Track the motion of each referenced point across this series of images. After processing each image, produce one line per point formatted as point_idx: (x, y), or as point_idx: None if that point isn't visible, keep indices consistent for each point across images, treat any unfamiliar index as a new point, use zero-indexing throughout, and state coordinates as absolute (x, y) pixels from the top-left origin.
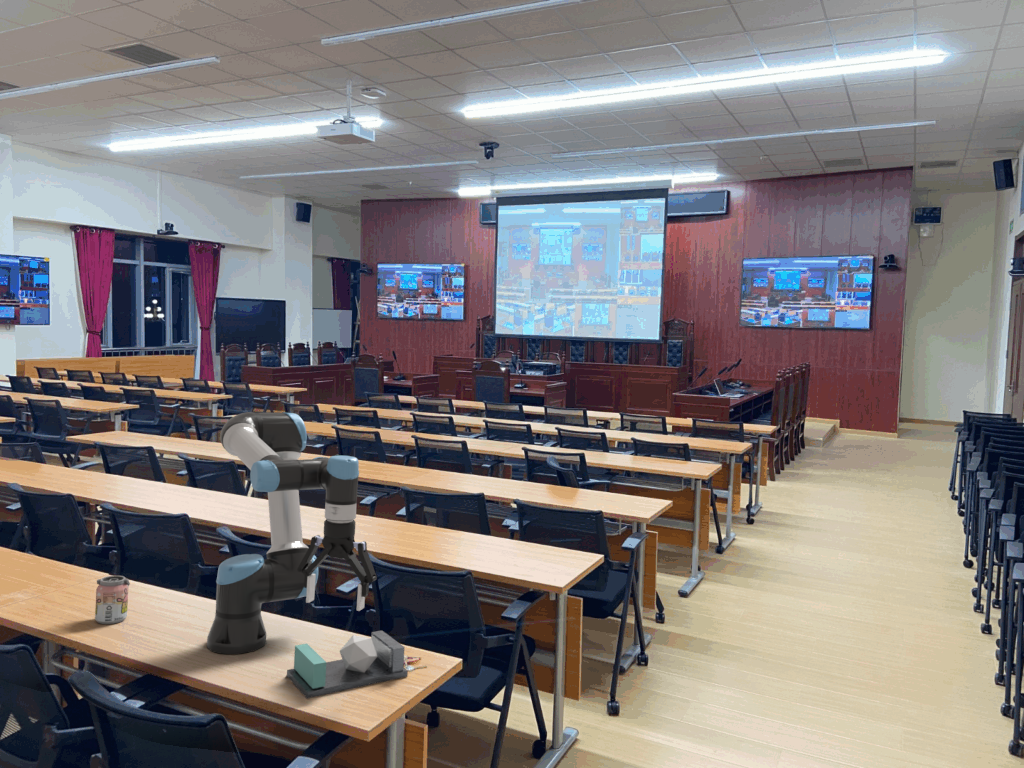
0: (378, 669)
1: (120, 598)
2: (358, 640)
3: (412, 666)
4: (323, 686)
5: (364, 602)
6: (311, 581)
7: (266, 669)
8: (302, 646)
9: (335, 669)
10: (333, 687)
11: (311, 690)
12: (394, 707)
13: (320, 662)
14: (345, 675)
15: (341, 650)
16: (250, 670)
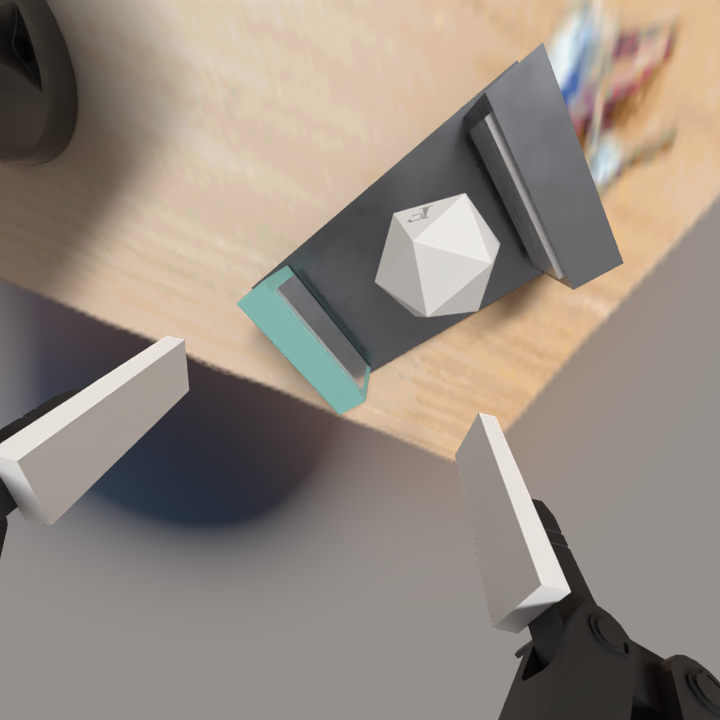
0: None
1: None
2: (441, 294)
3: (616, 149)
4: (366, 362)
5: (504, 438)
6: (87, 468)
7: (193, 250)
8: (261, 308)
9: (370, 268)
10: (388, 361)
11: None
12: (525, 402)
13: (351, 404)
14: None
15: (381, 286)
16: (162, 262)
